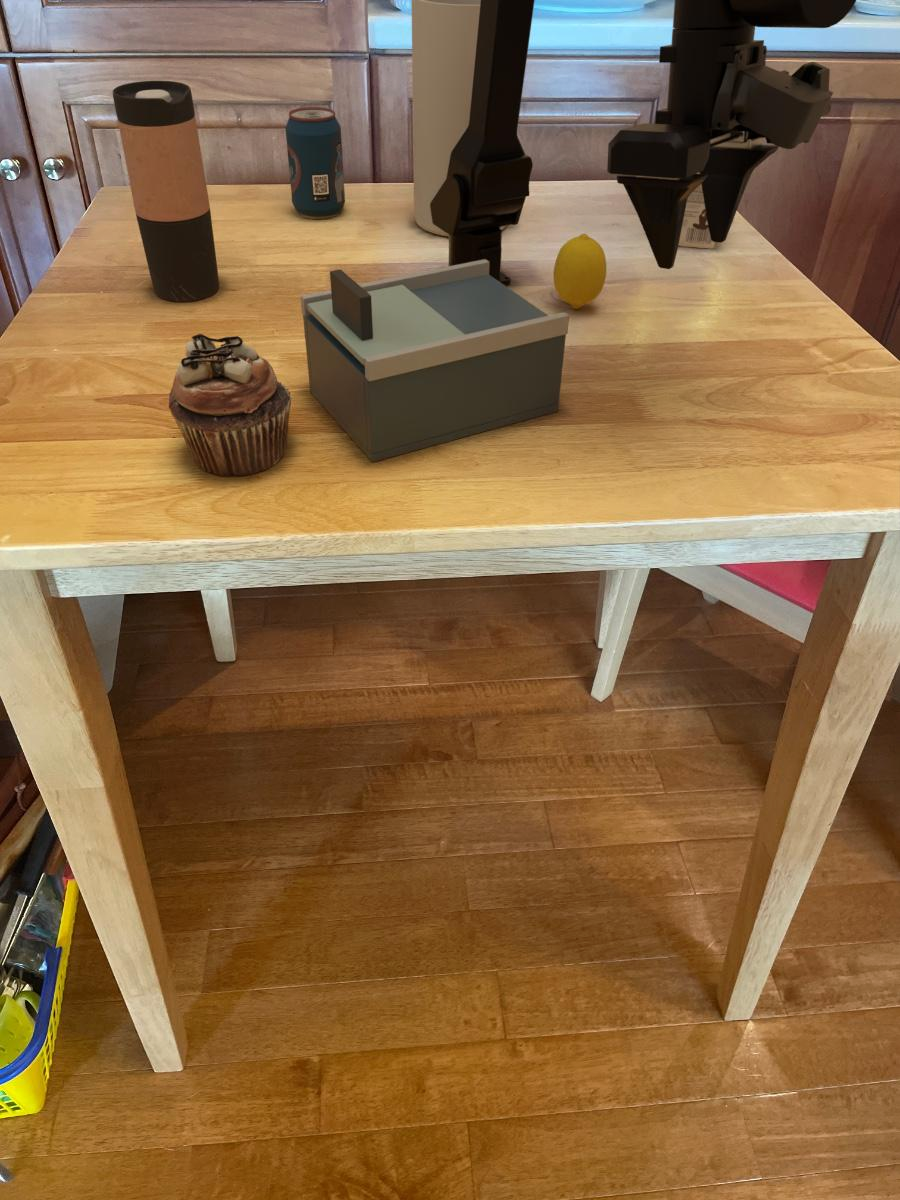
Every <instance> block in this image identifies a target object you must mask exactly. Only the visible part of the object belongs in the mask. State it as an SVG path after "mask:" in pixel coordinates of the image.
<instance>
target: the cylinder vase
mask: <svg viewBox="0 0 900 1200" xmlns="http://www.w3.org/2000/svg"><path fill="white" fill-rule="evenodd" d="M410 2H411V72H412V73H411V75H412V76H411V77H412V79H411V81H412V82H411V83H412V159H413V160H412V162H413V163H412V164H413V165H412V166H413V172H412V173H413V219H414V221H415V223H416V224H417V225H418V226H419V227H420V228H421V229H423V231H426V232H429V233H431V234H433V235H438V236H441V237H447V238H449V234H447V233H446V232H444V231H443V230H441V229H440V228H438V227H437V226H435V225H434V224H433V222H432V216H431V209H430V203H431V201H432V200H433V198H434V197H435V195H436V194H437V192H438V191H439V189H440V188H441V186H442V185H443V183H444V181H445V180H446V178H447V172H448V166H449V161H450V155H451V152H452V150H453V149H454V147H455V146H456V144H457V143H458V141H459V140H460V138H461V137H462V135H463V134H464V132H465V130H466V129H467V127H468V125H469V118H470V108H471V97H472V87H473V76H474V66H475V55H476V45H477V34H478V24H479V13H480V3H481V0H411V1H410ZM506 227H507V226H502V227H501V230H502V231H503V229H505V228H506Z"/></svg>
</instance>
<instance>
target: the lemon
mask: <svg viewBox="0 0 900 1200" xmlns="http://www.w3.org/2000/svg"><path fill="white" fill-rule="evenodd" d="M606 259H607V258H606V254H605V251H604V249H603V247H602V245H601V244H600V243H599V242H598V241H596V240H595V239H594V238H592V237H589V235H588V234H587V233H580V234H579V236H576V237H572V238H571V239H569V240H567V242H565V243H564V244H563V245H562V247H560V250H559V251H558V253H557V256H556V259H555V262H554V267H553V285H554V288H555V290H556V293H557V295H558V296H559V298H561V300H563V301H564V302H565V303H567V304H569V305H570V306H571V307H572V309H574V310H578V309H580V308H581V307H582V306H583V305H587V304H589V303H591V302H593V301H594V300H595V299H596V298H597V297H598V296H599V295H600V293H601V292H602V290H603V288H604V285H605V281H606V277H607V260H606Z"/></svg>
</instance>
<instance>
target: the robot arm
mask: <svg viewBox="0 0 900 1200" xmlns="http://www.w3.org/2000/svg"><path fill="white" fill-rule="evenodd" d="M535 1H536V0H481V3H480V13H479V24H478V34H477V45H476V55H475V66H474V76H473V87H472V97H471V108H470V118H469V125H468V127H467V129H466V130H465V132H464V134H463V135H462V137H461V138H460V140H459V141H458V143H457V144H456V146H455V147H454V149H453V150H452V152H451V155H450V161H449V166H448V172H447V178H446V180H445V181H444V183H443V185H442V186H441V188H440V189H439V191H438V192H437V194H436V195H435V197H434V198H433V200H432V201H431V203H430V209H431V216H432V222H433V224H434V225H435V226H437V227H438V228H440V229H441V230H443V231H444V232H446V233H447V234H449V237H448V266H453V265H458V264H463V263H469V262H474V261H479V260H484V259H486V260H487V261H489V275H490V276H492V277H493V278H495V279H496V280H498V281H499V282H500V283H502V284H503V285H508V284H511V282H512V278H511V277H510V276H509V275H507V274H506V273H504V272H502V271H501V270H502V269H501V268H502V249H503V248H502V240H503V239H502V237H503V235H502V234H503V229H502V230H501V227H502V226H506V227H507V226H511V225H512V226H516V225H518V224H519V222H520V218H521V215H522V211H523V208H524V205H525V203H526V198H527V197H529V196H530V179H531V175H532V172H533V171H532V170H533V167H534V166H533V165H534V163H533V159H532V158H531V156H529V155H526V153H525V150H524V148H523V146H522V145H523V144H522V142H521V141H520V138H519V136H518V127H519V120H520V112H521V105H522V96H523V91H524V89H523V88H524V83H525V76H526V67H527V62H528V61H527V60H528V53H529V45H530V39H531V30H532V23H533V17H534V16H533V15H534V9H535V8H534V7H535ZM856 2H857V0H674V5H673V18H672V19H673V20H672V31H671V44H667V45H663V46H659V59H658V63H659V64H669V72H668V73H669V74H668V89H667V103H666V107H665V108H661V109H657V110H655V119H654V122H655V123H646V122H645V123H644V122H643V123H640V124H636V125H633V126H629V127H626V128H623V129H620V130H619V131H618V132H617V133H616V134H615V135H614V137H613V138H612V139H611V140H610V141H609V142H608V143H607V144H608V146H607V171H606V172H607V173H608V174H611V175H616V183H617V184H619V185H623V187H624V190H625V192H626V194H627V195H628V198H629V200H630V202H631V204H632V206H633V208H634V210H635V212H636V214H637V217H638V219H639V222H640V225H641V226H642V228H643V231H644V234H645V237H646V239H647V242H648V244H649V246H650V249H651V251H652V254H653V256H654V259H655V261H656V264H657V266H658V268H659V269H666V270H670V269H672V268H673V267H674V266H675V263H676V257H677V253H678V250H679V246H678V245H679V240H680V235H681V229H682V224H683V219H684V214H685V209H686V203H687V199H688V197H689V195H690V194H691V193H692V192H693V191H694V190H695V189H696V188H697V187H698V186H699V185H700V184H702V191H703V197H704V204H705V210H706V217H707V223H708V228H709V232H710V237H711V240H712V241H713V242H716V243H720V244H721V243H724V242H725V241H726V240H727V237H728V235H729V232H730V229H731V227H732V224H733V221H734V219H735V216H736V213H737V211H738V209H739V206H740V203H741V200H742V198H743V195H744V193H745V190H746V188H747V186H748V183H749V180H750V178H751V176H752V174H753V172H754V171H755V169H756V168H757V167H759V166H760V165H761V164H762V163H763V162H764V161H766V159H768V158H769V157H770V156H772V155H773V154H775V153H776V152H777V150H778V149H779V148H780V149H781V148H782V149H784V150H793V149H796V148H797V147H798V145H799V144H800V145H801V144H802V143H804V144H807V143H810V142H811V139H812V138H813V135H814V133H815V132H816V131H815V130H816V128H817V127H818V125H819V122H820V121H821V119H822V118H823V117H824V116H826V115H829V113H830V112H831V109H832V105H831V103H830V101H831V98H832V96H833V95H834V92H833V91H831V90H830V75H831V74H830V73H831V71H830V70H831V69H830V68H829V67H827V66H825V65H822V64H819V62H816V61H811V62H807V63H804V64H802V65H801V66H800V67H799V68H798V69H797V70H795V71H794V73H793V74H791V75H790V71H788V70H781V71H780V70H777V69H774V68H772V67H770V66H768V65H766V61H767V51H768V48H767V47H768V46H766V45H764V44H765V39H755V33H756V32H755V31H756V28H781V29H783V28H784V29H785V28H786V29H788V28H790V29H792V28H793V29H827V28H830V27H833V26H835V25H837V24H838V23H840V22H841V21H842V20H843V19H845V18H846V17H847V15H848V14H849V13H850V12H851V10H852V9H853V7H854V6H855V4H856ZM764 139H765V141H766V144H763V140H764ZM699 172H700V174H697V173H699Z"/></svg>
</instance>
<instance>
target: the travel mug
mask: <svg viewBox="0 0 900 1200" xmlns="http://www.w3.org/2000/svg"><path fill="white" fill-rule="evenodd" d="M112 98H113V104H114V110H115V115H116V119H117V124H118V130H119V136H120V140H121V144H122V145H121V146H122V150H123V155H124V156H123V157H124V160H125V161H124V162H125V165H126V170H127V176H128V181H129V186H130V191H131V197H132V201H133V207H134V212H135V218H136V220H137V221H136V222H137V224H138V225H137V226H138V230H139V234H140V238H141V242H142V246H143V250H144V255H145V259H146V264H147V267H148V268H147V269H148V270H149V276H150V280H151V284H152V289H153V292H154V294H155V295H156V297H158V298H160V299H162V300H164V301H167V302H175V303H189V302H195V301H200V300H204V299H207V298H209V297H211V296H213V295H215V294H216V293H217V292H218V291H219V289H220V280H219V270H218V262H217V255H216V245H215V239H214V238H215V237H214V230H213V229H214V228H213V222H212V212H211V205H210V199H209V193H208V186H207V180H206V175H205V168H204V161H203V155H202V150H201V144H200V138H199V137H200V136H199V130H198V125H197V119H196V112H195V107H194V100H193V93H192V89H191V87H190V85H188V84H186V83H184V82H179V81H174V80H173V81H172V80H141V81H134V82H128V83H125V84H121V85H118V86H116V87H115V88H113V90H112Z"/></svg>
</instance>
